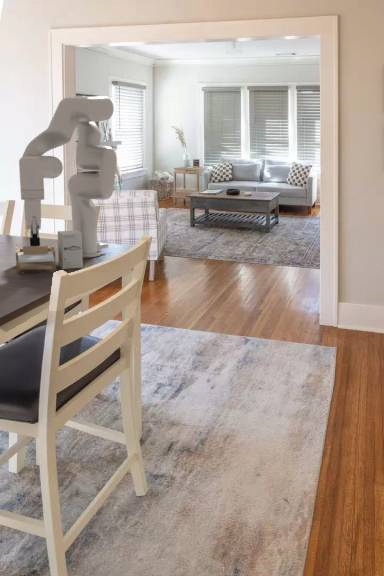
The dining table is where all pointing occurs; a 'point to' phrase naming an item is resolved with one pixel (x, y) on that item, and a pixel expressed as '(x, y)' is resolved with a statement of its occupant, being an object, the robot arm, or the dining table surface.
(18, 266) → the box
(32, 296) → the dining table surface
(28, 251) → the lid
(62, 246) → the supplement box
